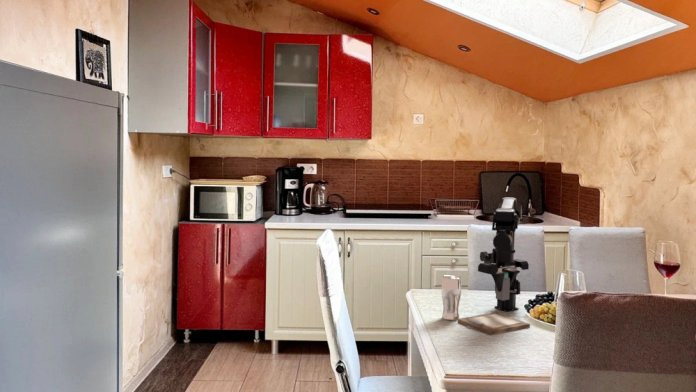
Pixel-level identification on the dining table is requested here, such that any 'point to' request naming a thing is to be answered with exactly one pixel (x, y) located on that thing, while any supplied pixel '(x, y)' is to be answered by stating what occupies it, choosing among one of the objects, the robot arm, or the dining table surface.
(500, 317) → the wooden tray
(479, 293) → the dining table surface
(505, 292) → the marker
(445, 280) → the metal tumbler
